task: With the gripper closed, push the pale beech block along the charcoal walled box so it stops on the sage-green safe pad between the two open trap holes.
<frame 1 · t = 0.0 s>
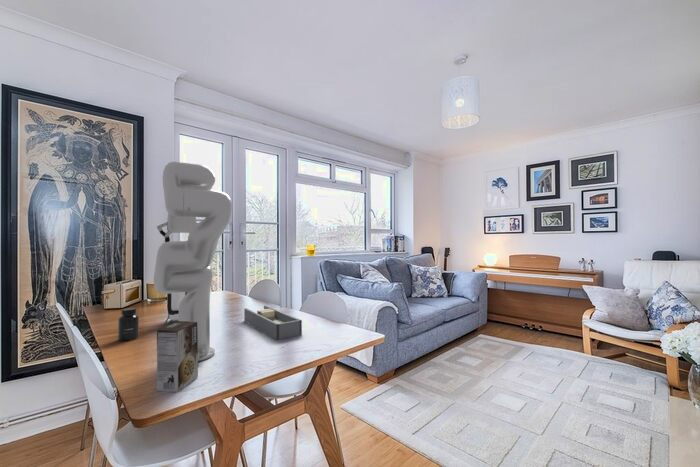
hand: (181, 247, 129), 37 cm above the table, tool pointing down, fingers open, 9 cm apart
supplement bottle: (128, 339, 129), on the table
coffee press: (181, 322, 156), on the table
trap box: (270, 327, 144), on the table
beech block: (265, 319, 149), point 2 cm above the table, touching trap box
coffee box: (178, 384, 88), on the table
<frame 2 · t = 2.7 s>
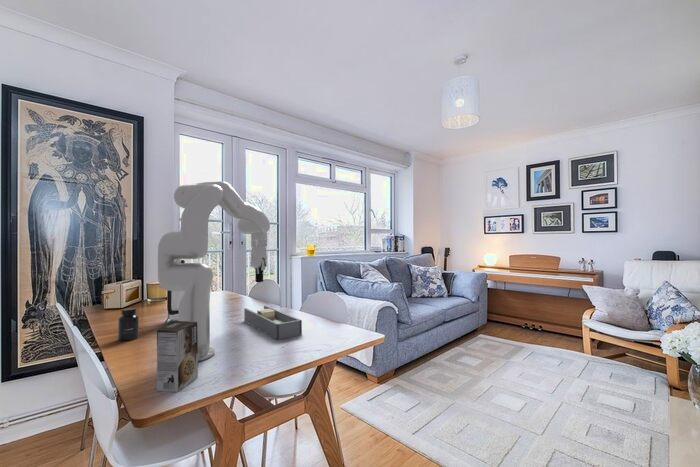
hand: (259, 281, 155), 19 cm above the table, tool pointing down, fingers closed
nothing on the table moved.
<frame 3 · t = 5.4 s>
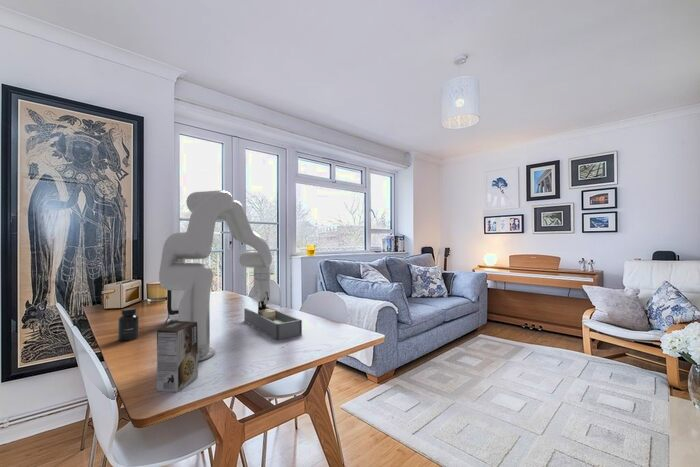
hand: (262, 315, 153), 4 cm above the table, tool pointing down, fingers closed
beech block: (266, 319, 148), point 3 cm above the table, touching gripper
everything else where it was.
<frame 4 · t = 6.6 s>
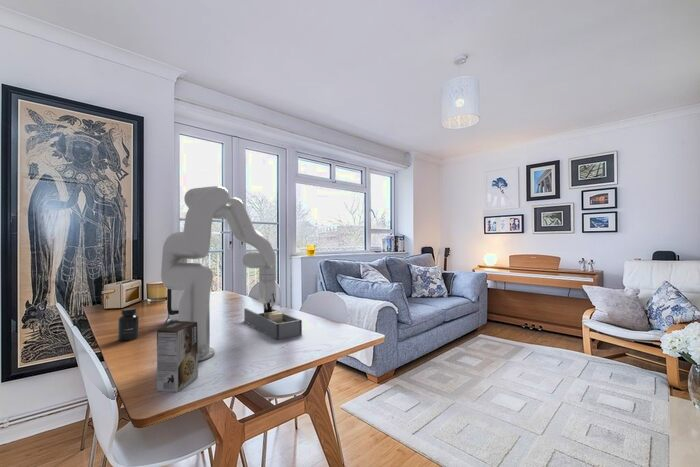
hand: (267, 317, 147), 4 cm above the table, tool pointing down, fingers closed
beech block: (273, 322, 143), point 3 cm above the table, touching gripper
everything else where it was.
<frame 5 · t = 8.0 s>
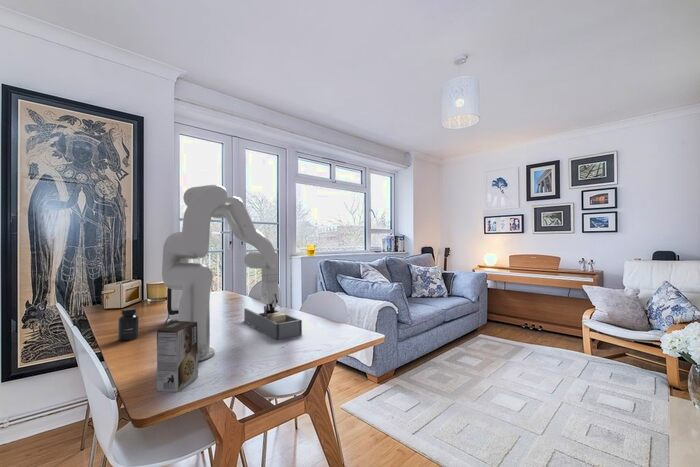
hand: (270, 318, 145), 4 cm above the table, tool pointing down, fingers closed
beech block: (276, 323, 141), point 2 cm above the table, touching gripper, trap box
everything else where it was.
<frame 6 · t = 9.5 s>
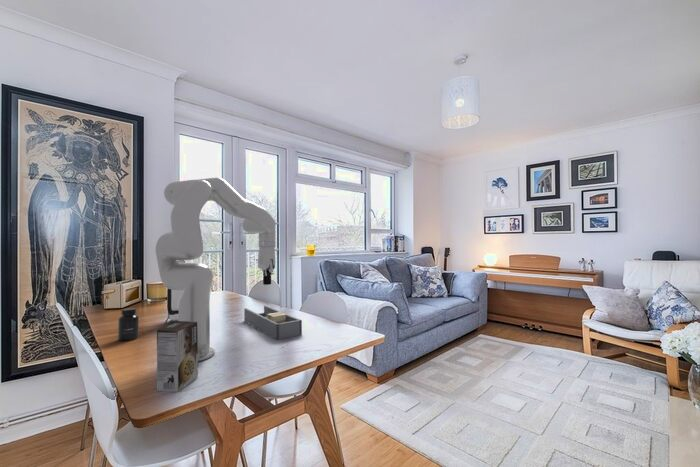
hand: (267, 284, 147), 19 cm above the table, tool pointing down, fingers closed
beech block: (276, 323, 141), point 2 cm above the table, touching trap box
everything else where it was.
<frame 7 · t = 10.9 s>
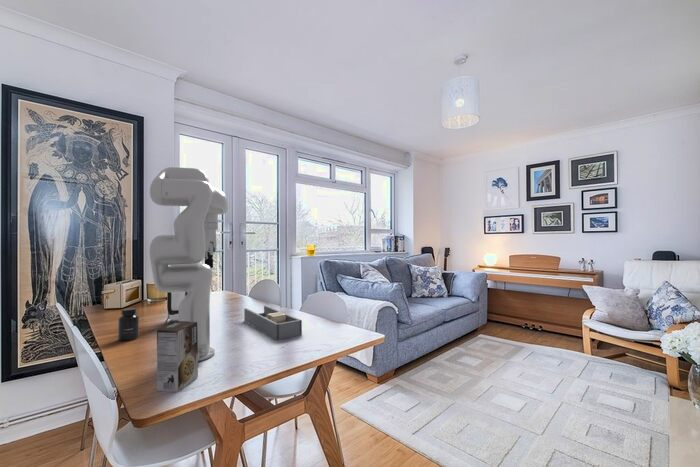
hand: (208, 268, 142), 27 cm above the table, tool pointing down, fingers closed
nothing on the table moved.
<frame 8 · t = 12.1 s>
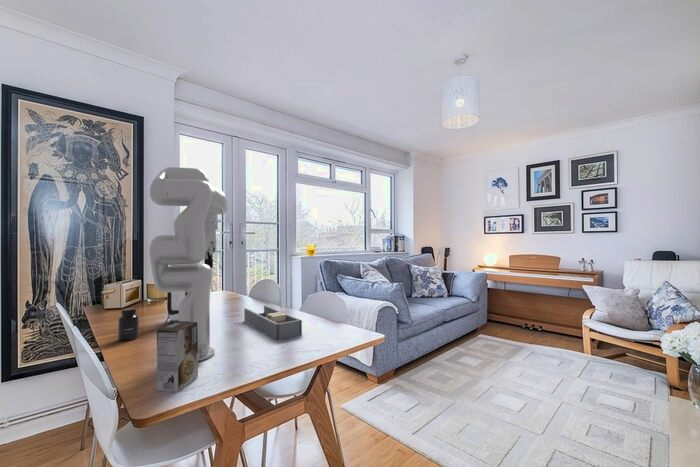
hand: (208, 268, 142), 27 cm above the table, tool pointing down, fingers closed
nothing on the table moved.
at the end: beech block inside the target area (1.7 cm from its centre), point 2.5 cm above the table; beech block tilted 0°; beech block moved 10.0 cm from its start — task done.
